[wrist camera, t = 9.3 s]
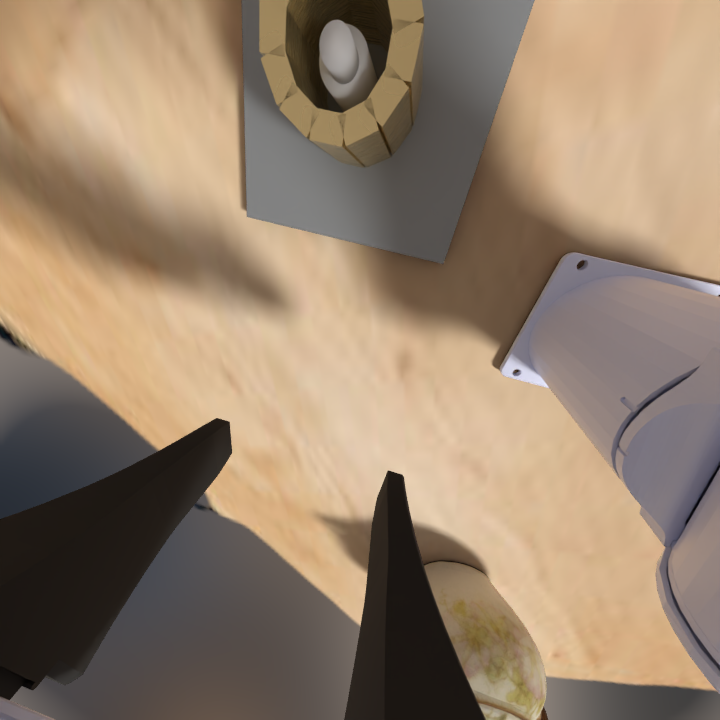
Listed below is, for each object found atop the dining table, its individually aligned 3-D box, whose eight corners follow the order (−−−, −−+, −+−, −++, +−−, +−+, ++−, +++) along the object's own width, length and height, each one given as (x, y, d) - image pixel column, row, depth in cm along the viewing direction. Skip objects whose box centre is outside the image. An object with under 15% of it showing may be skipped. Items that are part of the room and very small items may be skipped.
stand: (557, -78, 9) (696, -374, 5) (441, 261, 16) (451, 280, 11) (252, -119, 10) (112, -404, 6) (255, 216, 16) (189, 215, 12)
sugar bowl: (569, 596, 29) (689, 898, 16) (477, 624, 37) (509, 845, 24) (421, 517, 28) (423, 779, 15) (357, 564, 35) (321, 764, 22)
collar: (437, 23, 10) (448, -93, 7) (401, 176, 13) (394, 158, 9) (316, 1, 11) (259, -119, 7) (305, 154, 13) (259, 128, 10)
